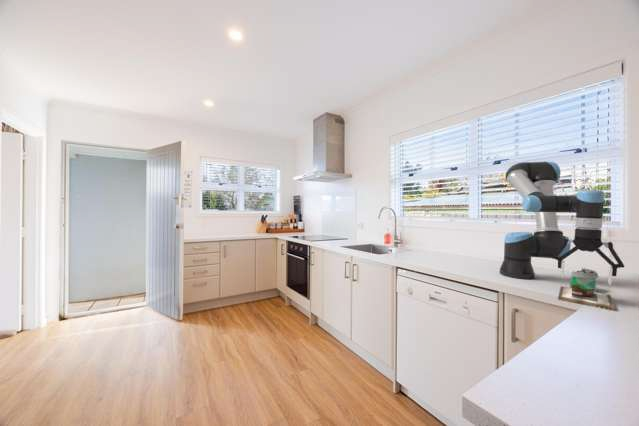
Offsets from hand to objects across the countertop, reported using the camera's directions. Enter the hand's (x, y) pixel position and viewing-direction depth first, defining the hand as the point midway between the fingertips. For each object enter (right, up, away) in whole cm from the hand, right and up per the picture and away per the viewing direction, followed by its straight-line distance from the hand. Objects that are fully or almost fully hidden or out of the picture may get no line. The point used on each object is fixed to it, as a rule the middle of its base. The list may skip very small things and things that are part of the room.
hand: (584, 279), depth 106 cm
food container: (0, -6, 0) cm, 6 cm away
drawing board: (0, -8, 0) cm, 8 cm away
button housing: (+12, -7, +13) cm, 19 cm away
